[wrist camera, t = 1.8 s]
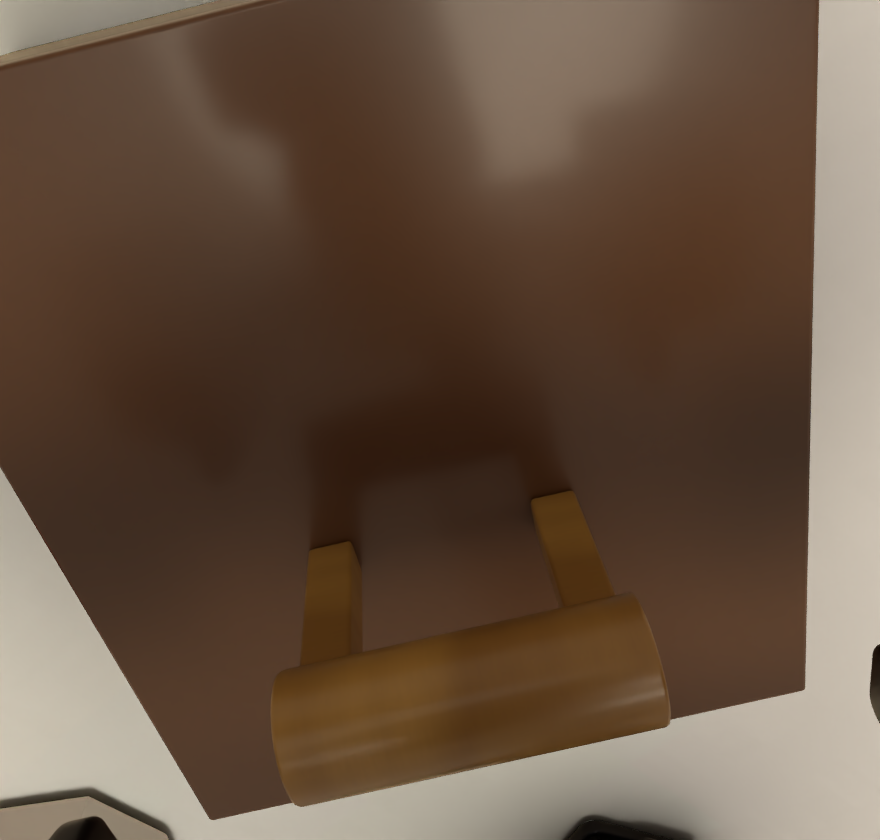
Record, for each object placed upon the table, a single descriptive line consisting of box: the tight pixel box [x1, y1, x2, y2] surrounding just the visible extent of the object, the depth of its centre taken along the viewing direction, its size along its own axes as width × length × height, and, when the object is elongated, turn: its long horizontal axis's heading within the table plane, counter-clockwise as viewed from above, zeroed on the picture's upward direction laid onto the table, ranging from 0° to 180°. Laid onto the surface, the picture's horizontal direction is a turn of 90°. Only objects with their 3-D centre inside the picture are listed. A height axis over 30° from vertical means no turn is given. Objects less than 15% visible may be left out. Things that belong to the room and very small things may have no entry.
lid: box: [0, 0, 819, 820], centre depth 11 cm, size 13×12×5 cm
